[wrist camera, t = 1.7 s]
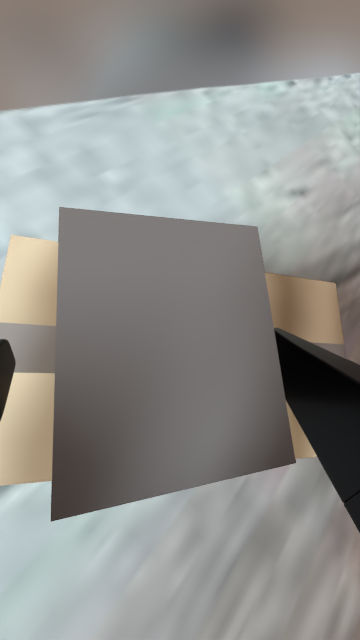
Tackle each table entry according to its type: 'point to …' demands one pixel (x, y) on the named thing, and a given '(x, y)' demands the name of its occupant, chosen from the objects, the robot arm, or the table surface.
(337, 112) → the table surface
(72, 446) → the block
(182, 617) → the table surface
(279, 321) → the birch board
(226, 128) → the table surface
